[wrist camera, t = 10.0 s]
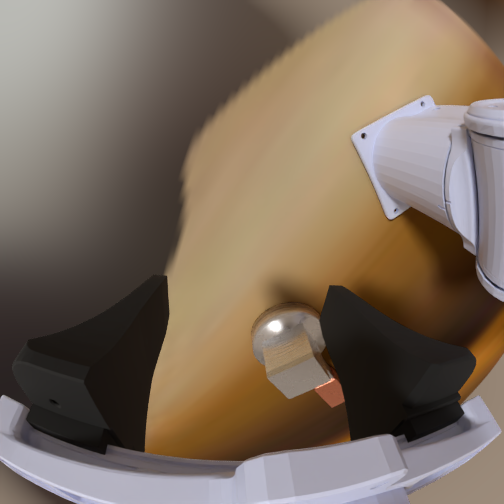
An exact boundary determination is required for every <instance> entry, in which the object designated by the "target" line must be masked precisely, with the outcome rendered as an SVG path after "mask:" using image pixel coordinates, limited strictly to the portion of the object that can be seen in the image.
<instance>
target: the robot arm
mask: <svg viewBox="0 0 504 504" xmlns="http://www.w3.org/2000/svg"><path fill="white" fill-rule="evenodd" d="M421 102H422V106H421ZM362 133H364V135H365V137H364V139H362V138H361V134H362ZM351 140H352V142H353V144H354V146H355V148H356V150H357V152H358V154H359V156H360V158H361V160H362V162H363V164H364V167H365V169H366V171H367V173H368V175H369V177H370V180H371V182H372V184H373V186H374V189H375V191H376V193H377V196H378V198H379V200H380V203H381V205H382V208H383V210H384V213H385V215H386V217H387V218H389V219H394V218H395V217H397V216H398V215H400V214H401V213H403V212H404V211H405V210H407V209H408V208H410V207H413V208H415V209H417V210H419V211H420V212H422V213H424V214H426V215H428V216H429V217H431V218H433V219H435V220H437V221H438V222H440V223H442V224H443V225H445V226H447V227H449V228H450V229H452V230H454V231H455V232H457V233H458V234H460V235H461V237H462V239H463V243H464V248H465V249H467V250H468V251H469V252H471V253H472V254H474V255H475V256H476V272H477V276H478V278H479V280H480V282H481V284H482V285H483V287H484V288H485V289H486V290H487V291H488V292H489V293H490V294H492V295H493V296H494V297H496V298H497V299H499V300H501V301H503V302H504V99H489V100H481V101H477V102H473V103H472V104H471V105H470V106H458V105H435V103H434V101H433V99H432V97H431V96H429V95H426V96H423V97H421V98H419V99H417V100H415V101H413V102H411V103H409V104H407V105H405V106H403V107H402V108H400V109H398V110H396V111H394V112H392V113H390V114H388V115H386V116H384V117H383V118H381V119H379V120H377V121H375V122H373V123H371V124H370V125H368V126H366V127H364V128H362V129H361V130H359V131H357V132H355V133H354V134H353V135H352V137H351ZM395 208H396V212H394V210H395ZM168 319H169V300H168V283H167V276H163V275H153V276H151V277H150V278H149V279H148V280H146V281H145V282H144V283H143V284H141V285H140V286H139V287H138V288H136V289H135V290H134V291H133V292H131V293H130V294H129V295H128V296H126V297H125V298H123V299H122V300H121V301H119V302H118V303H116V304H115V305H114V306H112V307H111V308H109V309H107V310H106V311H104V312H103V313H101V314H99V315H97V316H95V317H94V318H92V319H89V320H88V321H85V322H83V323H81V324H79V325H76V326H74V327H72V328H69V329H67V330H64V331H60V332H58V333H54V334H51V335H47V336H43V337H38V338H34V339H29V340H28V341H27V343H26V344H25V346H24V347H23V349H22V350H21V351H20V353H19V355H18V356H17V358H16V359H15V361H14V363H13V365H12V369H13V373H14V376H15V378H16V380H17V382H18V383H19V385H20V386H21V388H22V389H23V391H24V392H25V394H26V395H27V396H28V398H29V399H30V400H31V402H32V403H33V404H32V406H31V409H30V410H29V409H28V408H27V407H25V406H24V405H23V404H21V403H19V402H17V401H15V400H13V399H11V398H9V397H7V396H5V395H2V397H1V399H0V461H1V462H3V463H4V464H5V465H7V466H8V467H9V468H11V469H12V470H13V471H15V472H16V473H18V474H19V475H21V476H23V477H24V478H26V479H28V480H30V481H31V482H33V483H35V484H37V485H39V486H41V487H43V488H44V489H46V490H48V491H50V492H52V493H54V494H57V495H59V496H61V497H63V498H65V499H67V500H70V501H72V502H75V503H77V504H410V502H409V499H408V496H407V495H409V494H411V493H413V492H415V491H417V490H419V489H421V488H423V487H425V486H427V485H429V484H430V483H432V482H434V481H436V480H438V479H439V478H441V477H443V476H445V475H446V474H448V473H450V472H451V471H453V470H455V469H456V468H458V467H459V466H461V465H462V464H464V463H466V462H467V461H468V460H470V459H471V458H472V457H474V456H475V455H476V454H477V453H479V452H480V451H481V450H482V449H483V448H484V447H486V446H487V445H488V444H489V443H490V442H491V441H493V440H494V439H495V438H496V437H497V436H498V435H499V434H500V433H501V429H500V428H499V426H498V424H497V423H496V421H495V419H494V418H493V416H492V414H491V413H490V411H489V409H488V408H487V406H486V405H485V403H484V402H483V400H482V398H481V397H480V396H476V397H474V398H472V399H470V400H468V401H466V402H465V403H463V404H462V405H461V406H460V404H459V403H458V401H459V400H460V398H461V396H460V394H459V393H458V391H459V390H460V389H461V387H462V386H463V385H464V383H465V382H466V381H467V380H468V378H469V377H470V375H471V374H472V372H473V370H474V368H475V366H476V358H475V357H474V355H473V354H472V353H471V352H470V350H468V349H467V348H464V347H460V346H455V345H451V344H447V343H444V342H440V341H437V340H434V339H431V338H429V337H426V336H424V335H421V334H419V333H417V332H414V331H412V330H410V329H408V328H406V327H404V326H403V325H401V324H399V323H397V322H395V321H394V320H392V319H390V318H389V317H387V316H386V315H384V314H382V313H381V312H379V311H378V310H377V309H375V308H374V307H372V306H371V305H369V304H368V303H367V302H365V301H364V300H362V299H361V298H360V297H358V296H357V295H355V294H354V293H353V292H351V291H350V290H348V289H346V288H345V287H343V286H335V285H330V286H329V289H328V293H327V296H326V300H325V303H324V306H323V310H322V313H321V316H320V319H319V322H320V327H321V331H322V335H323V339H324V342H325V344H326V347H327V349H328V352H329V354H330V357H331V359H332V362H333V364H334V367H335V369H336V372H337V374H338V377H339V380H340V383H341V387H342V392H343V396H344V400H345V405H346V410H347V415H348V422H349V429H350V438H351V441H349V442H344V443H338V444H333V445H327V446H320V447H313V448H306V449H297V450H286V451H280V452H274V453H267V454H262V455H259V456H256V457H253V458H249V459H247V460H246V461H212V460H196V459H186V458H176V457H169V456H162V455H155V454H149V453H144V451H145V432H146V420H147V411H148V403H149V395H150V389H151V383H152V378H153V374H154V370H155V367H156V363H157V360H158V357H159V354H160V351H161V347H162V344H163V341H164V338H165V335H166V330H167V325H168Z"/></svg>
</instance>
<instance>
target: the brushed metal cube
mask: <svg viewBox="0 0 504 504" xmlns="http://www.w3.org/2000/svg"><path fill="white" fill-rule="evenodd" d="M262 346H263V353H264V360H265V366H266V373H267V378H268V379H269V380H270V381H271V382H272V383H273V384H274V385H275V386H276V387H277V388H278V389H279V390H280V391H281V392H282V393H283V394H284V395H285V396H286V397H287V398H288V399H290V398H293V397H295V396H298V395H300V394H302V393H305V392H307V391H309V390H312V389H314V388H316V387H318V386H320V385H322V384H325V383H327V382H329V381H331V380H330V377H329V374H328V371H327V369H326V366H325V363H324V360H323V358H322V355H321V352H320V350H319V347H318V346H317V344H316V343H315V341H314V340H313V338H312V337H311V335H310V334H309V332H308V330H307V329H306V327H305V326H304V324H303V323H300V324H298V325H296V326H294V327H292V328H290V329H288V330H286V331H284V332H282V333H280V334H278V335H276V336H274V337H272V338H270V339H268V340H266V341H264V342H262Z"/></svg>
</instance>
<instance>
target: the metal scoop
mask: <svg viewBox="0 0 504 504" xmlns="http://www.w3.org/2000/svg"><path fill="white" fill-rule="evenodd" d="M319 319H320V315H319V313H318V312H317V311H316V310H315V309H314V308H312V307H311V306H309V305H307V304H303V303H298V302H288V303H282V304H279V305H276V306H273V307H271V308H269V309H268V310H266V311H265V312H263V313H262V314H261V315H260V316H259V317H258V318H257V319H256V321H255V323H254V324H253V327H252V331H251V336H252V345H253V352H254V355H255V357H256V359H257V360H258V361H259V362H260V363H261V364H263V365H265V360H264V353H263V346H262V342H264V341H266V340H268V339H270V338H272V337H274V336H276V335H278V334H280V333H282V332H284V331H286V330H288V329H290V328H292V327H294V326H296V325H298V324H300V323H303V324H304V326H305V327H306V329H307V330H308V332H309V334H310V335H311V337H312V338H313V340H314V341H315V343H316V344H317V346H318V347H319V350H320V352H321V353H322V351H323V350H324V348H325V346H326V344H325V342H324V339H323V335H322V331H321V327H320V322H319ZM322 358H323V357H322ZM323 360H324V359H323ZM324 363H325V366H326V369H327V371H328V374H329V377H330V380H331V381H329V382H327V383H325V384H322V385H320V386H318V387H316V388H314V390H315V391H316V392H317V393H318V394H319V395H320V396H321V397H322V398H323V399H324V400H325V401H326V402H327V403H328V404H329V405H330V406H331V407H334V406H337V405H339V404H341V403H343V402H345V400H344V396H343V392H342V387H341V383H340V380H339V377H338V374H337V373H336V372H335V370H334V369H333V368H332V367H329V365H328V364H327V363H326V361H325V360H324Z"/></svg>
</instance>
